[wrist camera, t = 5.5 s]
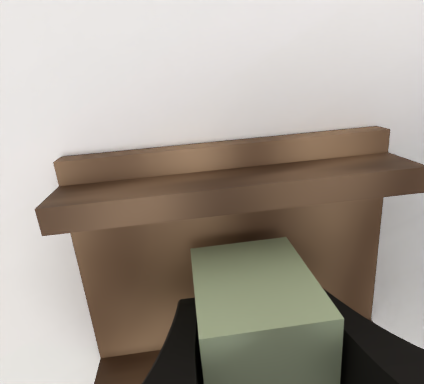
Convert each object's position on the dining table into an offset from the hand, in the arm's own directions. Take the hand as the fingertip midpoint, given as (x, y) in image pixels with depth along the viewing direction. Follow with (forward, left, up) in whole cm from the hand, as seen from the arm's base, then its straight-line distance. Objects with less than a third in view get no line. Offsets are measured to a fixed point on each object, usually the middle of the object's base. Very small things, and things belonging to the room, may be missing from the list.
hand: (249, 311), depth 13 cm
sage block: (0, 0, -2) cm, 2 cm away
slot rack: (0, +5, -4) cm, 6 cm away
